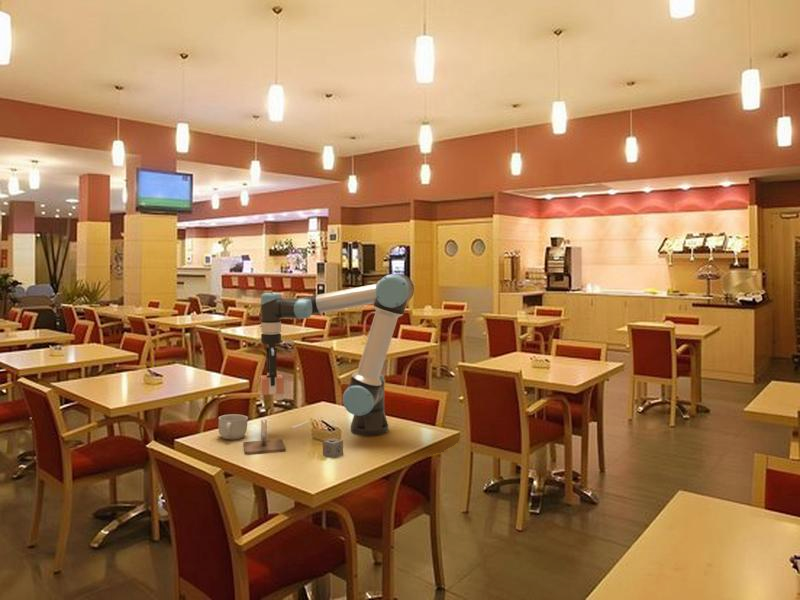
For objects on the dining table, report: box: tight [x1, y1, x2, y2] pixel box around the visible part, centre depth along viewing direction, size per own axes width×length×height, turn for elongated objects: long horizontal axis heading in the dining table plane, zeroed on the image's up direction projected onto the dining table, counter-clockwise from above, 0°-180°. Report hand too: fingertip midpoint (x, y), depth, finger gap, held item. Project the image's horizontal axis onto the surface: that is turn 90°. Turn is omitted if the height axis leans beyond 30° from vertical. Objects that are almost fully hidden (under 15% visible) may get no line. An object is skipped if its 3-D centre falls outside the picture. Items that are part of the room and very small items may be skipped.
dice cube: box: [322, 437, 344, 459], centre depth 203 cm, size 5×5×5 cm
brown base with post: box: [243, 419, 287, 456], centre depth 210 cm, size 14×12×10 cm
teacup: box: [218, 413, 249, 441], centre depth 221 cm, size 14×11×8 cm
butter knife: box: [290, 419, 311, 429], centre depth 249 cm, size 1×27×3 cm
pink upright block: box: [260, 374, 285, 396], centre depth 226 cm, size 8×8×6 cm
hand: (271, 391), depth 226 cm, fingers closed on pink upright block, 8 cm apart
